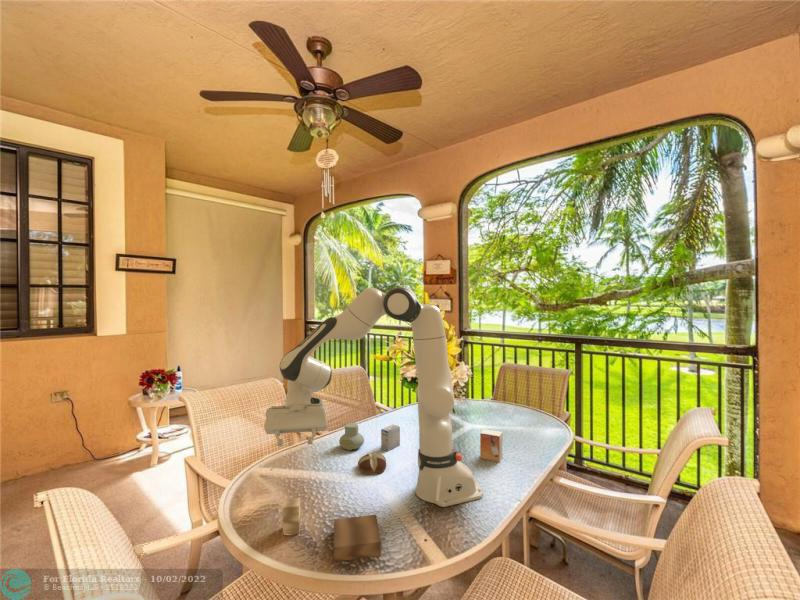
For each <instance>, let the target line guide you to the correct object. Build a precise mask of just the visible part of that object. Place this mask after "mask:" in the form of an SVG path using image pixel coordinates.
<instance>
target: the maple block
mask: <svg viewBox="0 0 800 600" xmlns="http://www.w3.org/2000/svg"><path fill="white" fill-rule="evenodd" d="M283 501H284V502H283V505H282V535H283V534H297V535H300V530H301V526H302V525H301V524H302V521H301V519H302V515H301V513H302V512H301V497H293V498H285V499H284V500H283Z"/></svg>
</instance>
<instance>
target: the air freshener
mask: <svg viewBox="0 0 800 600" xmlns="http://www.w3.org/2000/svg"><path fill="white" fill-rule="evenodd" d="M338 443H339V445H340V447H341V448H343V449H344V450H347V449H349V450H348V451H353V450H352V449H354V450H357V449H359V448H361V447H362V446H363V444H364V443H365V437H364V436H363V435H362V434H361V433H359V425H358V424H357V423H355V422H349V423H346V424H345V425H344V434H342V435H341V436H340V438H339V441H338Z"/></svg>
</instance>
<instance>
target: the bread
mask: <svg viewBox="0 0 800 600" xmlns="http://www.w3.org/2000/svg"><path fill="white" fill-rule="evenodd" d="M357 461H358V462H357V465H358V469H359V470H360V472H361V471H362V472H361V473H363V474H365V473H367V474H366V475H370V473H371V474H374V473H377V474H381V472H382V473H383V472H385V470H386V468H387V459H386V457H385V456H384V455H383V454H382V453H379V452H374V453H373V454H370V453H367V454H365V455H363V456H361V457H360V458H359V459H358V460H357Z"/></svg>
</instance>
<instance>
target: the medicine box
mask: <svg viewBox="0 0 800 600" xmlns="http://www.w3.org/2000/svg"><path fill="white" fill-rule="evenodd" d="M400 428H401V427H400V426H399V425H397V424H390V425H388V426H385V427H383V428H381V430H380V438H381V440H380V441H381V442H380V443H381V446H380V447H381V449H382V450H384V449H385V451H387V450H388V451H391V450H393V449H395V448H397V447H398V446H400V445H401V429H400Z"/></svg>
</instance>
